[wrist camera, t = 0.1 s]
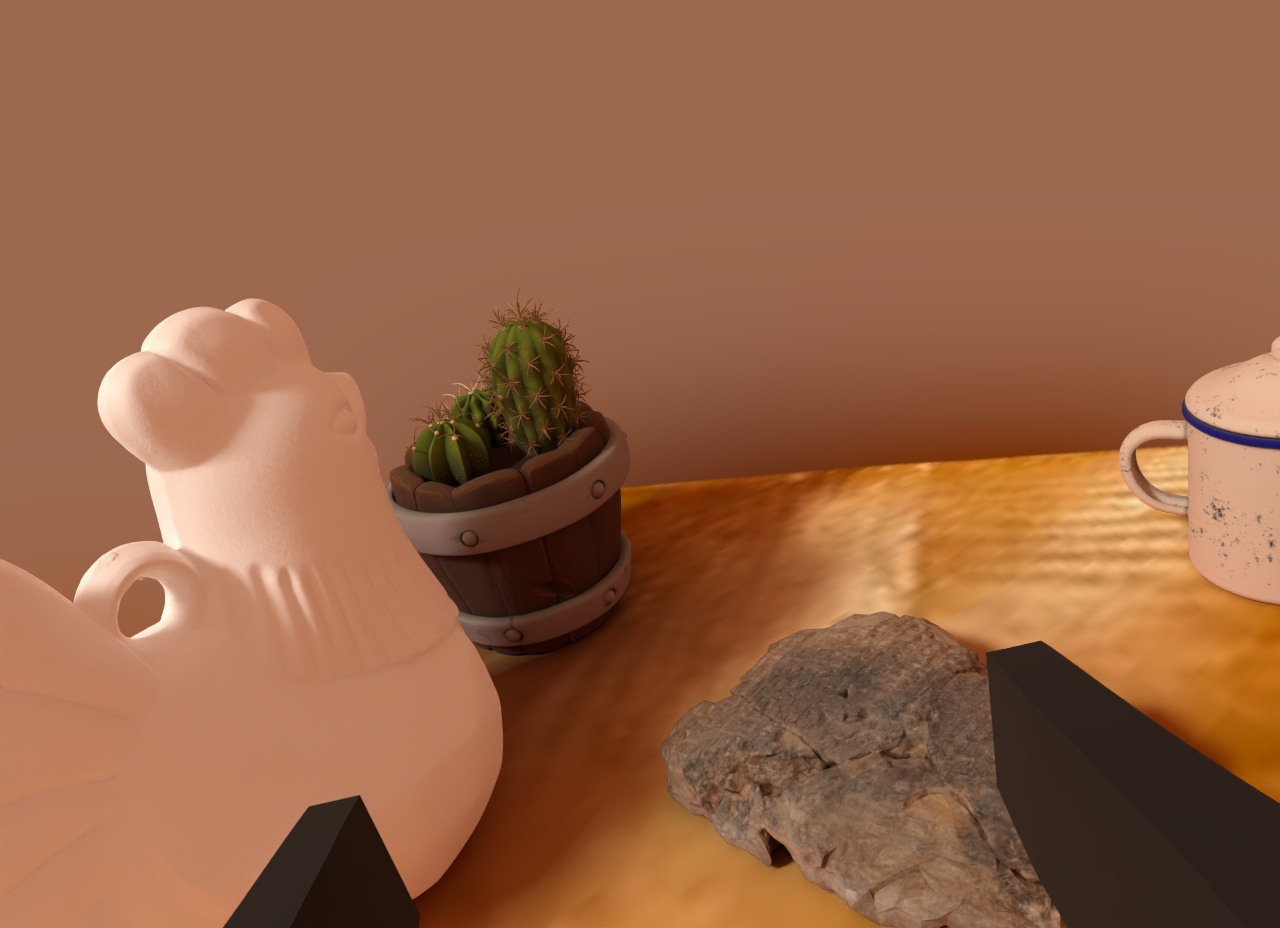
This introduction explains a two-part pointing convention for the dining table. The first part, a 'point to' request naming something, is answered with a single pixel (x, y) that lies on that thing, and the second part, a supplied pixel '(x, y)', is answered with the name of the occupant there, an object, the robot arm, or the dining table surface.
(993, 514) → the dining table surface
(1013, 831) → the clay tablet
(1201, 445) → the teacup with lid
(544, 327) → the flowerpot
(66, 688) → the white sculpture
